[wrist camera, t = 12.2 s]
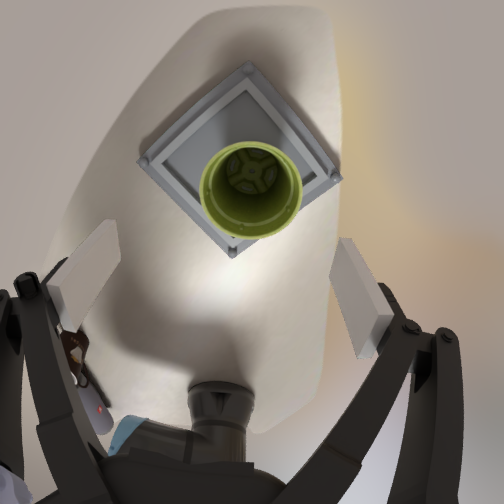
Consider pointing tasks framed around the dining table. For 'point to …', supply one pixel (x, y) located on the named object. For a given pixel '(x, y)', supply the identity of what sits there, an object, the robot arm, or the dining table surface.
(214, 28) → the dining table surface
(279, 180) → the plant pot
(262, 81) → the base plate
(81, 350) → the coffee mug
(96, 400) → the bluetooth speaker
